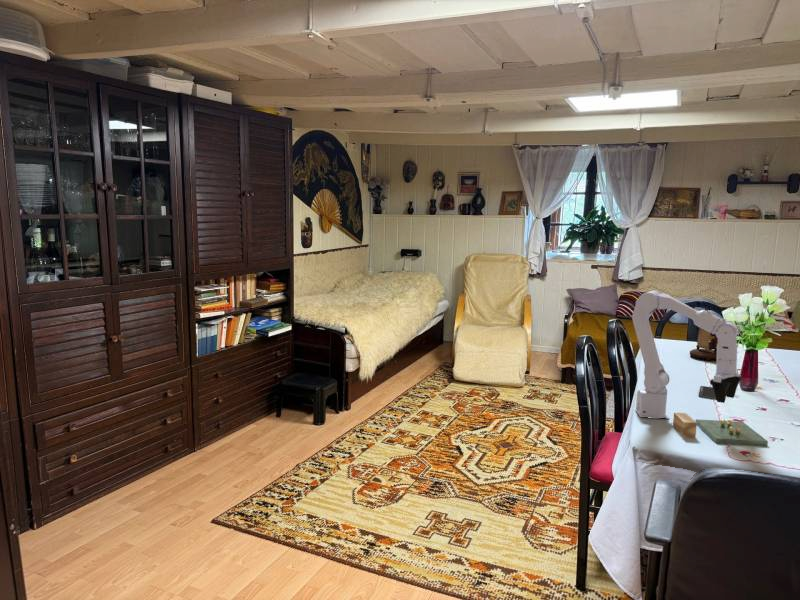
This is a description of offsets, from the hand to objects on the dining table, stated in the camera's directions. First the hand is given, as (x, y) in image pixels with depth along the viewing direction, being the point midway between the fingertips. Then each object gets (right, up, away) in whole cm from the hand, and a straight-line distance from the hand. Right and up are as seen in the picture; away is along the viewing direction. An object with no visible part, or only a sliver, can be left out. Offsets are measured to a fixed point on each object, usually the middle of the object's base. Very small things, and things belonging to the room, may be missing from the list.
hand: (725, 399), depth 188 cm
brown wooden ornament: (+46, +3, +98) cm, 108 cm away
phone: (+17, -5, +40) cm, 44 cm away
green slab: (0, -11, -3) cm, 11 cm away
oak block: (-14, -11, -1) cm, 18 cm away
